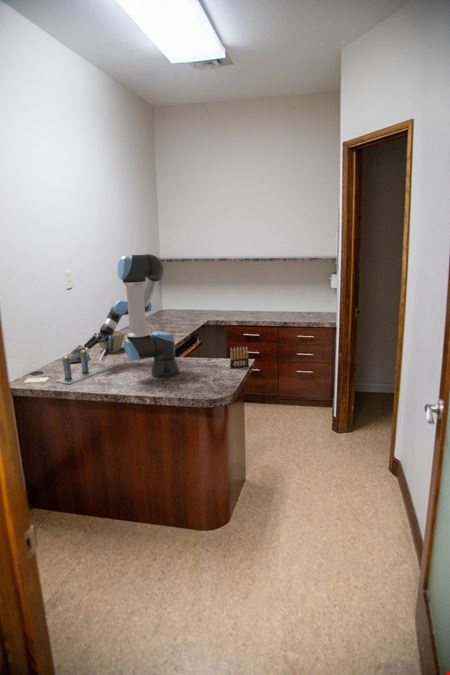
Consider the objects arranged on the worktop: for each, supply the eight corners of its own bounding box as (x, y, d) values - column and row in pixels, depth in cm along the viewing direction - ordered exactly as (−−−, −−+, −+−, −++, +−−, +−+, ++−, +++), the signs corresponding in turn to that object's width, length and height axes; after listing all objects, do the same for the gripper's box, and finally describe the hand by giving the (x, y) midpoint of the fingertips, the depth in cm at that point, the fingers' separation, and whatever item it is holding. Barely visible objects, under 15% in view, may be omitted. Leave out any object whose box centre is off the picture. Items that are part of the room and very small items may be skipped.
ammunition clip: (248, 365, 256) (247, 345, 253) (249, 366, 254) (248, 346, 251) (229, 367, 253) (229, 347, 251) (230, 368, 252) (230, 348, 249)
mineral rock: (67, 364, 269) (65, 348, 267) (68, 360, 279) (66, 344, 277) (90, 362, 273) (88, 346, 271) (89, 357, 283) (88, 342, 281)
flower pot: (127, 352, 292) (125, 334, 290) (98, 356, 286) (97, 337, 284) (123, 346, 309) (122, 329, 306) (96, 349, 303) (94, 332, 300)
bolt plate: (110, 368, 258) (108, 346, 255) (69, 384, 233) (66, 359, 230) (97, 366, 263) (95, 344, 260) (56, 381, 237) (53, 357, 234)
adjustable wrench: (222, 395, 212) (222, 391, 212) (209, 396, 211) (209, 393, 210) (212, 378, 236) (212, 375, 235) (200, 380, 235) (200, 376, 234)
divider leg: (89, 371, 249) (87, 350, 246) (85, 372, 246) (83, 351, 244) (85, 370, 250) (83, 349, 247) (81, 371, 248) (79, 350, 245)
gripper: (128, 333, 258) (112, 365, 249) (96, 330, 270) (80, 360, 261) (121, 326, 253) (105, 358, 243) (88, 323, 265) (72, 354, 255)
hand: (92, 359), depth 252 cm, fingers open, 13 cm apart
